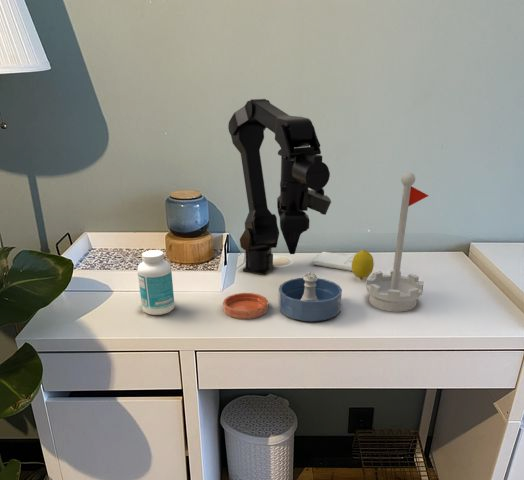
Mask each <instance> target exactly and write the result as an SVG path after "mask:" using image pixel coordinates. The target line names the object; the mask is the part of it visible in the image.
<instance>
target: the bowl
mask: <svg viewBox="0 0 524 480" xmlns="http://www.w3.org/2000/svg"><path fill="white" fill-rule="evenodd" d="M303 278H304V277H295V278H292V279H289V280H287V281H284V282H282V283H281V284H280V285H279V288H278V305H277V306H278V309H279V311H280V313H282V314H283V315H284V316H286V317H288V318H291V319H292V320H296V321H302V322H323V321H327V320H330V319H332V318H334V317H337V315H339V313H340V312H341V306H342V295H343V289H342V287H341V286H340V285H339V284H338V283H336V282H334V281H331V280H328V279H325V278H320V277H317V278H318V279H317V281H316V282H315V283H316V286H315V291H316V296H317V299H318V301H302V300H301V298H302V296H303V294H304V289H305V286H304V284H305V281H304V279H303Z"/></svg>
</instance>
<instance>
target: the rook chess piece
mask: <svg viewBox="0 0 524 480" xmlns="http://www.w3.org/2000/svg"><path fill="white" fill-rule="evenodd" d="M302 278H303V279H304V281H305V284H304V286H305V289H304V294H303V296H302V298H301V300H302V301H318V299H317V296H316V291H315V286H316V283H315V282H316V281H317V279H318V278H319V277H318V276H317V274H316V273H315V272H306V273H304V276H303V277H302Z"/></svg>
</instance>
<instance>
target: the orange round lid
mask: <svg viewBox="0 0 524 480" xmlns="http://www.w3.org/2000/svg"><path fill="white" fill-rule="evenodd" d="M222 309H223V312H224V313H225V314H226V315H227V316H229V317H231V318H234V319H239V320H251V319H252V320H253V319H256V318H259V317H262V316H263V315H265V314H266V313H267V311H268V309H269V300H268V299H267V298H266V297H265V296H263V295H261V294H258V293H254V292H239V293H234V294H230V295H227V297H225V298H224V299H223V301H222Z"/></svg>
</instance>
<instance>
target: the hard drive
mask: <svg viewBox="0 0 524 480" xmlns="http://www.w3.org/2000/svg"><path fill="white" fill-rule="evenodd" d="M354 256H355V255H348V254H340V253H335V252H329V251H321V252H320V253H319V254H318V255H317V256H316V257H314V259H313V261H312V265H313V266H319V267H325V268H330V269H337V270H343V271H349V272H353V271H352V261H353V258H354Z"/></svg>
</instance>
